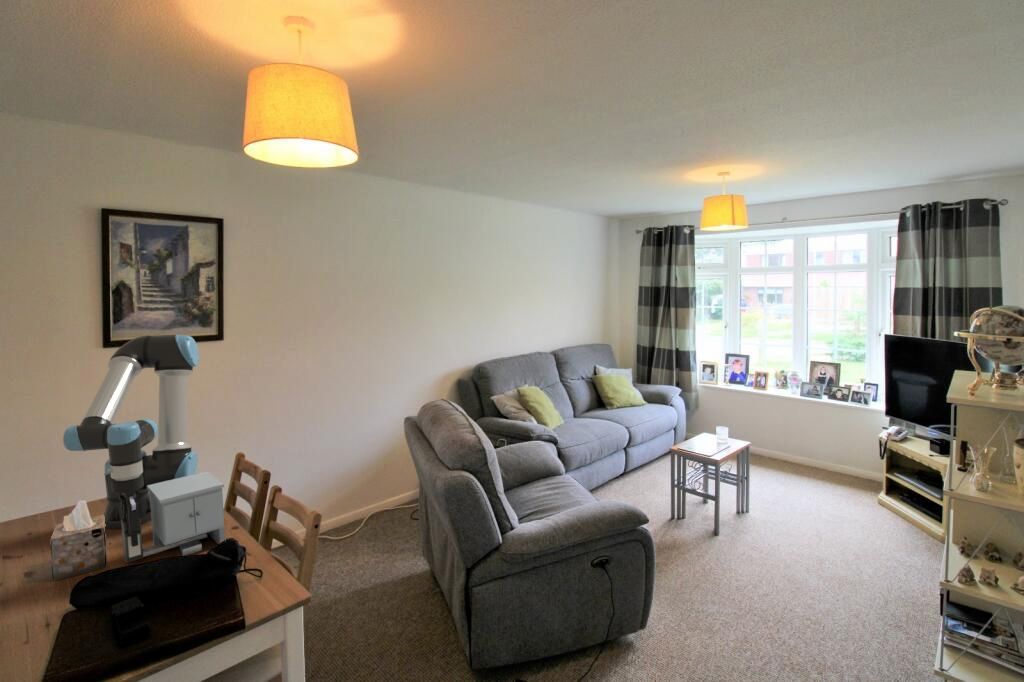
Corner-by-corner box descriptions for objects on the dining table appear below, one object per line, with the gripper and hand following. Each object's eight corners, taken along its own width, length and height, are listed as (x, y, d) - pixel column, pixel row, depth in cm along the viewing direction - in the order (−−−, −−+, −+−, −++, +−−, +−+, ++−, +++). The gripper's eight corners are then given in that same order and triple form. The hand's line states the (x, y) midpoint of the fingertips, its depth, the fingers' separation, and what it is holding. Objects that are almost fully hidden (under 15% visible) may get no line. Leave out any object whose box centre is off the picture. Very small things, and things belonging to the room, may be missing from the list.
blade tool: (124, 557, 151) (120, 519, 150) (203, 533, 166) (201, 497, 165) (126, 562, 148) (123, 523, 147) (207, 537, 163) (205, 501, 162)
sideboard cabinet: (151, 546, 160) (146, 485, 158) (211, 528, 172) (207, 471, 170) (165, 567, 148) (160, 501, 146) (228, 545, 161) (224, 484, 158)
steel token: (179, 550, 158) (179, 543, 158) (198, 545, 162) (197, 537, 161) (183, 557, 155) (182, 549, 154) (202, 551, 158) (201, 543, 158)
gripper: (105, 472, 151) (112, 547, 154) (116, 487, 140) (123, 568, 142) (136, 465, 157) (142, 538, 159) (149, 480, 145) (155, 558, 148)
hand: (133, 552), depth 151 cm, fingers closed on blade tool, 4 cm apart
